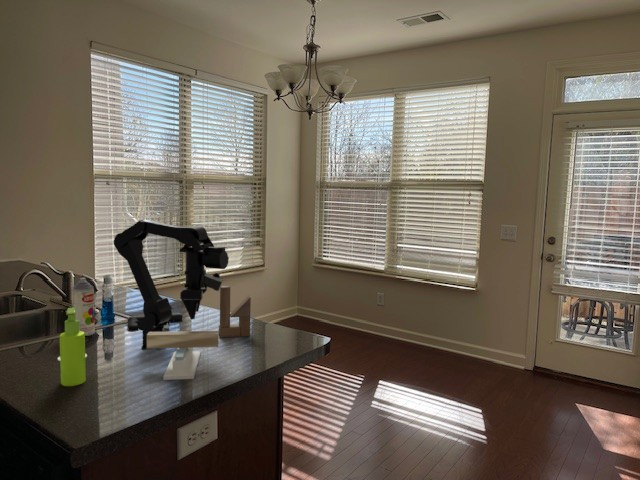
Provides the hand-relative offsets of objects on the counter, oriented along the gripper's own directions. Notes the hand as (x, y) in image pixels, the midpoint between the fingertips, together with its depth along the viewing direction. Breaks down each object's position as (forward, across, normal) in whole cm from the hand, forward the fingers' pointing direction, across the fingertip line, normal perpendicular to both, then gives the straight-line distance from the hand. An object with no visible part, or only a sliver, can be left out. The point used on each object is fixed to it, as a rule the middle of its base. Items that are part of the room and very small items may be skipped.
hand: (194, 315), depth 152 cm
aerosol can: (+12, +20, +40) cm, 46 cm away
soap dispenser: (+12, -23, +28) cm, 39 cm away
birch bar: (+6, -12, +2) cm, 14 cm away
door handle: (+13, +30, +18) cm, 37 cm away
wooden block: (+12, +17, -12) cm, 24 cm away
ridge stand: (+12, -12, +2) cm, 17 cm away
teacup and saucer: (+13, -1, +34) cm, 37 cm away
